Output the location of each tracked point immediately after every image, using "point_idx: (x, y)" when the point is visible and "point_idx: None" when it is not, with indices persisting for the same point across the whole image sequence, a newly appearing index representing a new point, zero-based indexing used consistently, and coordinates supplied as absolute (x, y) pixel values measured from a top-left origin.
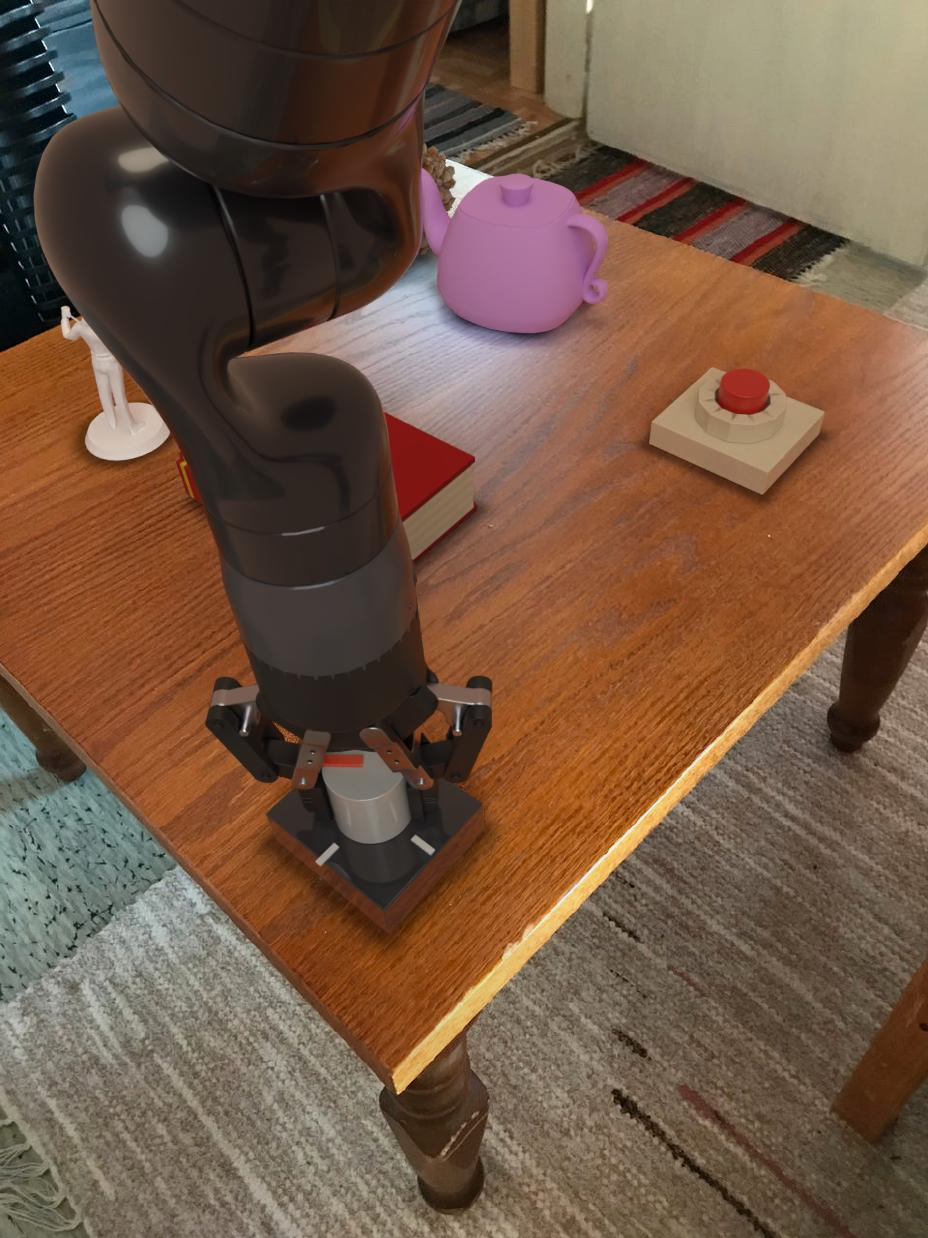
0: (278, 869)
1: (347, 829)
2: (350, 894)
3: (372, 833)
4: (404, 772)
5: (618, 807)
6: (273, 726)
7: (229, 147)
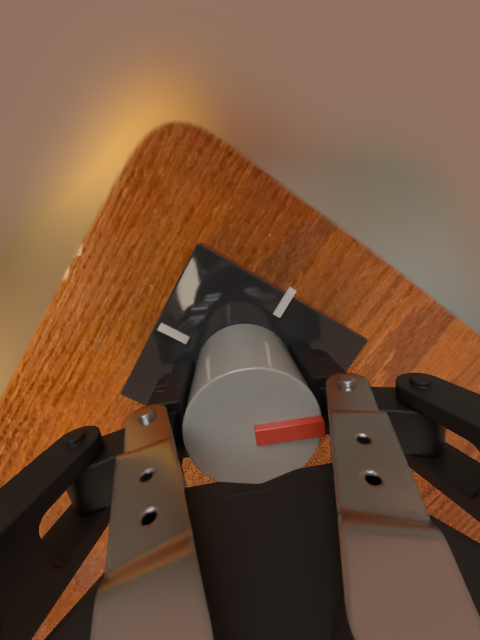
0: (332, 293)
1: (265, 333)
2: (250, 270)
3: (231, 333)
4: (163, 436)
5: (18, 410)
6: (439, 485)
7: None
